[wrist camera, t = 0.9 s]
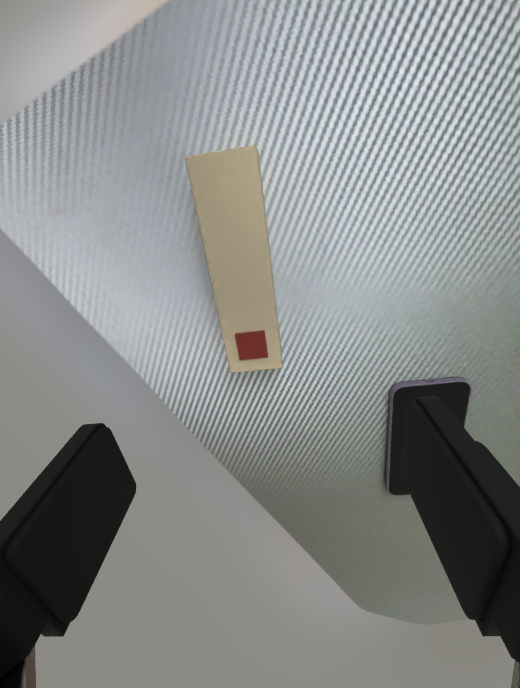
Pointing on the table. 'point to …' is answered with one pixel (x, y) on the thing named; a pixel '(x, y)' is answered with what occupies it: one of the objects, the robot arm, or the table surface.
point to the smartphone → (402, 394)
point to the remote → (238, 254)
